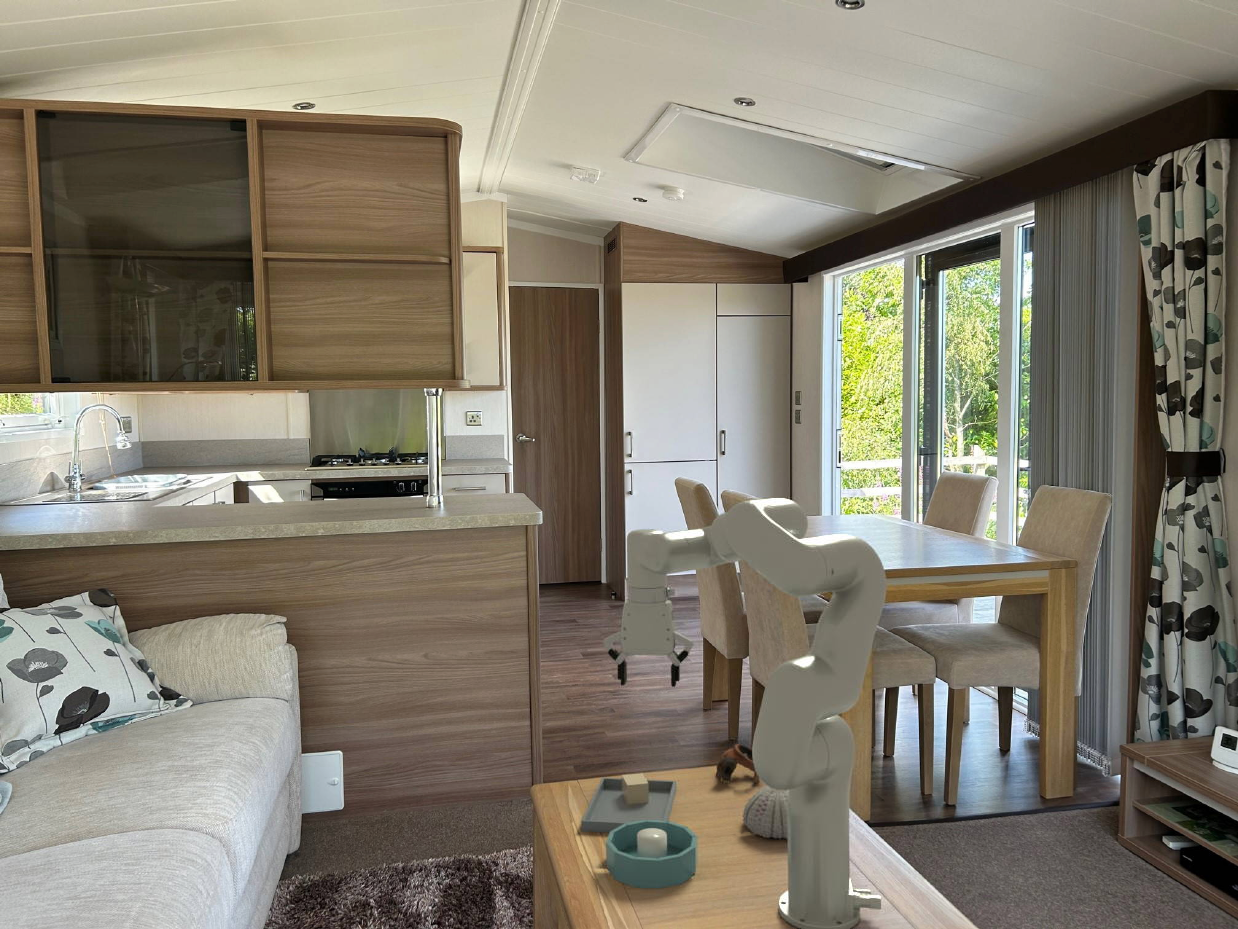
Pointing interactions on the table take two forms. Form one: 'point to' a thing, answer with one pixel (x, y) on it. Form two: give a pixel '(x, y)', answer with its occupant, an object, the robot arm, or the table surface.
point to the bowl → (651, 870)
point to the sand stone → (635, 788)
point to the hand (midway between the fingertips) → (648, 684)
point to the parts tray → (626, 805)
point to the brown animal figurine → (735, 762)
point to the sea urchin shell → (767, 813)
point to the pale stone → (652, 843)
